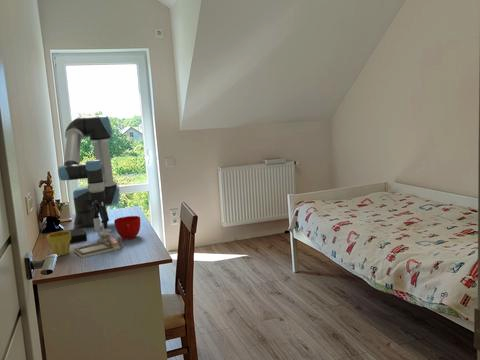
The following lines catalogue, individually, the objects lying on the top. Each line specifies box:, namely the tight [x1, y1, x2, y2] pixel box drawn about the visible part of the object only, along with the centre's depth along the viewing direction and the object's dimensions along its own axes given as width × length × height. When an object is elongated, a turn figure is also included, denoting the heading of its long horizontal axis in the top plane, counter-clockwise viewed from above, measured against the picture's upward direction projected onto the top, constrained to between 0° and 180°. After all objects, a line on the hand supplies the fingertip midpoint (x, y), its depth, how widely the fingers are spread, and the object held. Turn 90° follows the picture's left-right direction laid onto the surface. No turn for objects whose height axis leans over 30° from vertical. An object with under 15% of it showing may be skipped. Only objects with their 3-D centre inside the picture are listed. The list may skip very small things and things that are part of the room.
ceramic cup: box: [114, 215, 141, 240], centre depth 228 cm, size 13×17×10 cm
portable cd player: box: [52, 228, 88, 244], centre depth 236 cm, size 16×17×4 cm
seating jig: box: [73, 235, 123, 258], centre depth 211 cm, size 13×19×6 cm
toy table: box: [96, 228, 113, 243], centre depth 224 cm, size 10×9×6 cm
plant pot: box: [46, 230, 71, 256], centre depth 209 cm, size 10×10×10 cm
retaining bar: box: [107, 235, 119, 247], centre depth 209 cm, size 15×3×2 cm, turn 25°
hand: (101, 232), depth 224 cm, fingers open, 13 cm apart
